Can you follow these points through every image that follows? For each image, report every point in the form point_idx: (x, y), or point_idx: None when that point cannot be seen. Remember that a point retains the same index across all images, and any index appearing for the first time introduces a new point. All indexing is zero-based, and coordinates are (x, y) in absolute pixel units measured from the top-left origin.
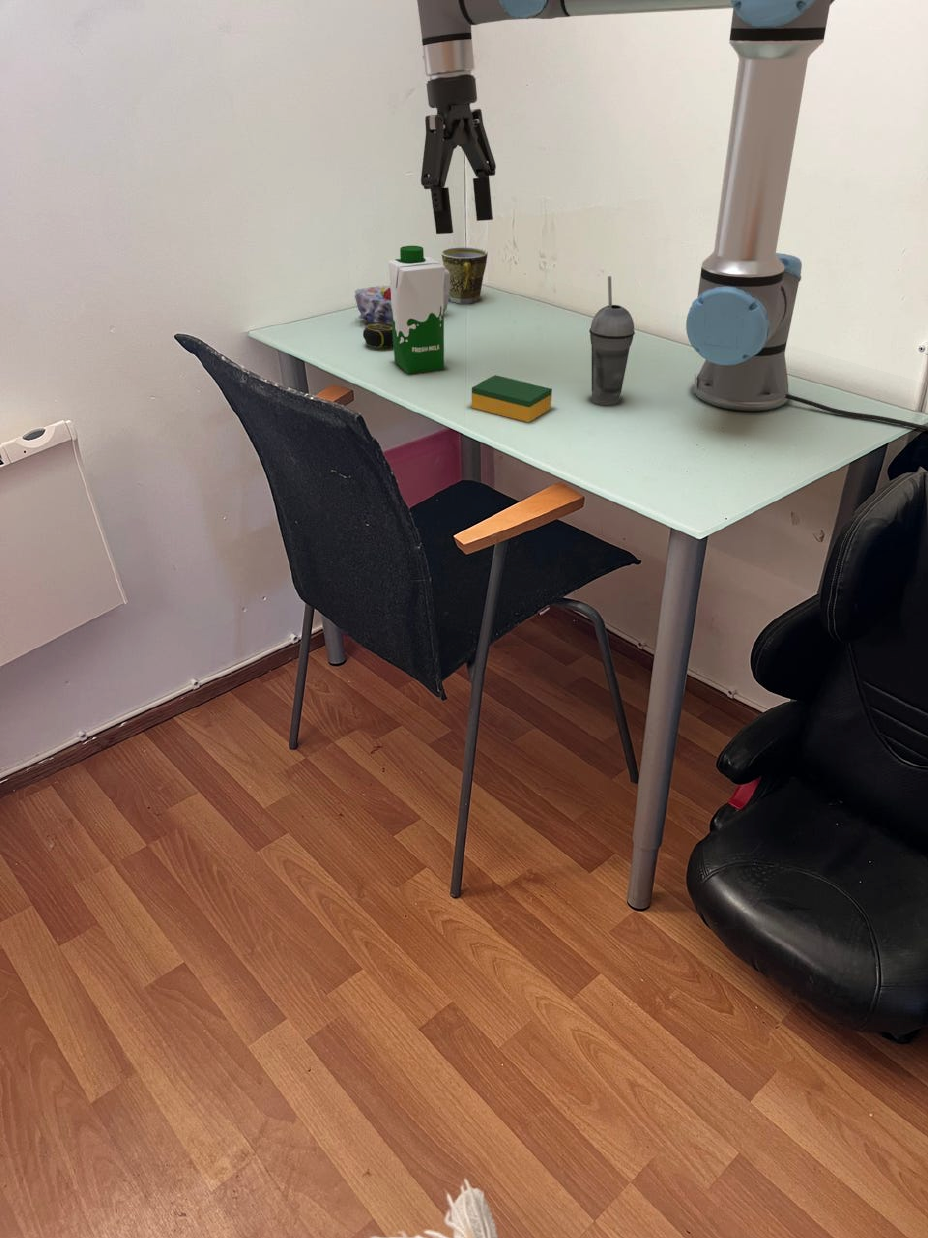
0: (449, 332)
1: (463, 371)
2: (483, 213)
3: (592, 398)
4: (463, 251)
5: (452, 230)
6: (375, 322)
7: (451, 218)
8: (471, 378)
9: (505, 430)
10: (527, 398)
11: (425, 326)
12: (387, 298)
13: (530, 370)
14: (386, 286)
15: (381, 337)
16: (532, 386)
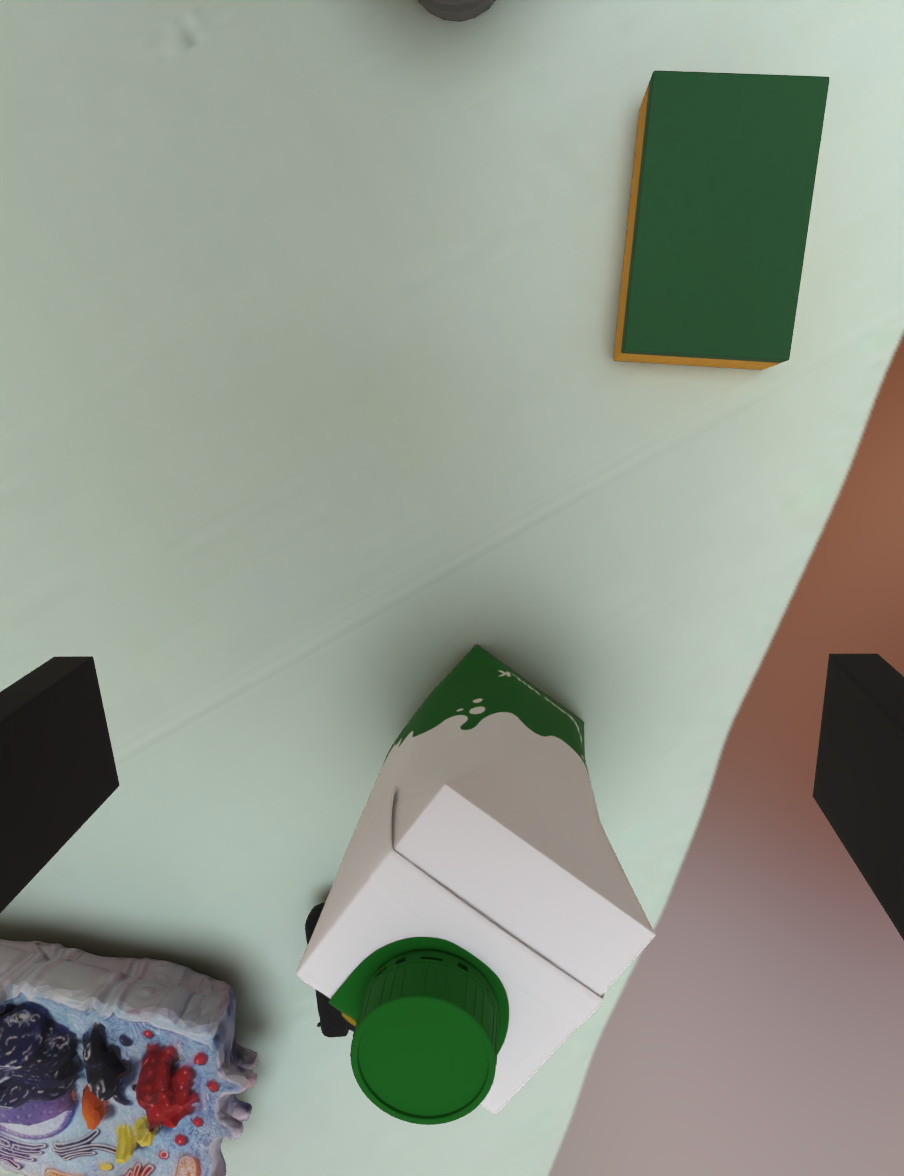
0: (134, 819)
1: (458, 576)
2: (73, 748)
3: (489, 2)
4: None
5: (851, 659)
6: (328, 1031)
7: (889, 711)
8: (505, 516)
9: (900, 153)
10: (802, 101)
11: (558, 730)
12: (190, 1091)
13: (322, 372)
14: (53, 1173)
15: None
16: (670, 152)
